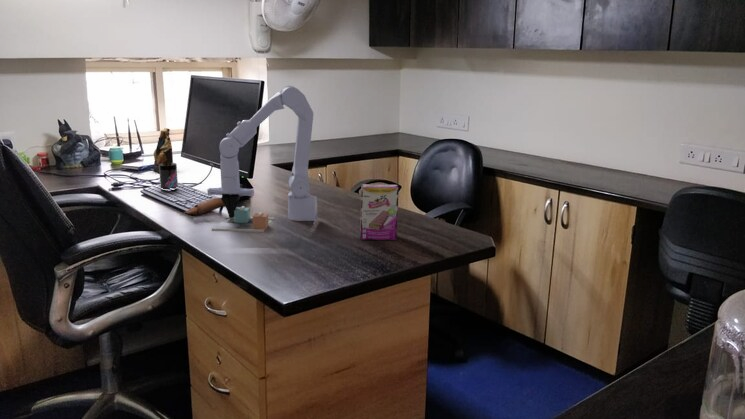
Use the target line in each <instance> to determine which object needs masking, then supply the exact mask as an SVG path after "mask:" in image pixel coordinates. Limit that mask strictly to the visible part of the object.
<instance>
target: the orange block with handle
mask: <svg viewBox="0 0 745 419" xmlns="http://www.w3.org/2000/svg"><path fill="white" fill-rule="evenodd" d="M252 217H253V219H252V228H253V229H261V230H262V229H265V230H267V229H268V227H269V226H270V224H269V218H270V217H269V213H268V212H263V211H259V212H255V213H254V214H253V215H252Z"/></svg>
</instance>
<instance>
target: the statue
mask: <svg viewBox="0 0 745 419" xmlns="http://www.w3.org/2000/svg"><path fill="white" fill-rule="evenodd" d="M170 131H171V130H170V128H168V127H167V128H166V127H164V128H163V129H161V130H160V133H159V137H158V141H157V144H156V148H155V149H154V152H153V160H154V164H153V165H152V170H153V171H154V172H155V173H157V174H160V172H159V164H162V163H174V159H173V157H174V156H173V147H172V141H171V137H170Z"/></svg>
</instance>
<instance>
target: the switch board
mask: <svg viewBox="0 0 745 419" xmlns="http://www.w3.org/2000/svg"><path fill="white" fill-rule="evenodd" d="M224 219H229V220H235V217H234V218H229V215H228V216H224ZM274 220H275V217H269V225H270V224H271V222H273V221H274ZM230 223H232V224H233V223H234V221H229V224H230ZM265 230H266V229H253V216H250V220H249V221H248V222H247V223H246V224H240V225H239V226H238V227H237V228H225V227H224V228H223V227H219V228H218V227H211V231H212V232H213V231H219V232H249V233H250V232H251V233H264V232H265Z"/></svg>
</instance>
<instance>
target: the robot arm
mask: <svg viewBox="0 0 745 419" xmlns="http://www.w3.org/2000/svg"><path fill="white" fill-rule="evenodd" d="M284 106H285V107H287V108H288V109H290V110H292V112H293V113H294V114H295V115H296V116H297V126H296V137H295V147H294V155H293V156H294V157H293V158H294V159H293V165H292V170H291V175H290V176H289V177H288V180H287V181H288V182H287V186H288V188H290V191H289V192H288V194H287V207H288V208H287V211H288V213H287V214H288V220H291V221H295V222H296V221H297V222H300V221H301V222H303V221H304V222H305V221H307V222H311V221H312V222H313V223H312V225H315V224H316V222H317V220H318V198H317V196H316V195H311V193H310V190H311V184H310V182H309V161H310V152H311V151H310V150H311V142H312V131H313V124H314V123H313V121H314V111H313V109H312V107H311V105H310V103H309V101H308V100H307V98H306V95H305V94H304V93H303V92H302V91H301V90H300V89H298V88H297V87H295V86H293V85H285V86H284V87H282V89H281V90H280V91H278V92H276V93H275V94H273V96H271V97H270V98H269V99H268V100H267V101H266V102H265V103H264V104H263V105H262V106H261V107H260V109H259V110H257V111H256V113H255V114H253V116H252V117H250V119H243V120H242V121H238V122H237V123H236V125H237V126H235V127H234V128H233V130H231V132H230V133H229V132H227V133H226V135H225V136H226V137H224V138H223V139H222V140H220V142H219V147H218V148H219V152H220V158H219V160H220V162H219V163H220V164H219V166H220V186H221V187H209V188H208V189H207V196H221V197H220V198H221V199H222V201H223V203H224V205H223V206H225V209H226V212H227V214H228V216H229V218H234V217H235V216H234V210H235V209H236V208H237V207H238V204H239V201H240V199H241V196H243V197H244V196H247V197H254V196H255V189H254V188H246V187H245V188H244V187H241V186H240V161H239V160H238V154H239V151H240V148H243V147H244V146H245V145H246V144H247V143H248V142H249V141H251V139H252V138H254V137H255V135H256V134H257V128H258V127H259V126H260V125H261V124H262V123H264V121H266V119H268V117H270V116H271V115H272V114H273V113H274V112H275V111H279V110H284V109H285V107H284Z"/></svg>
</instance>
